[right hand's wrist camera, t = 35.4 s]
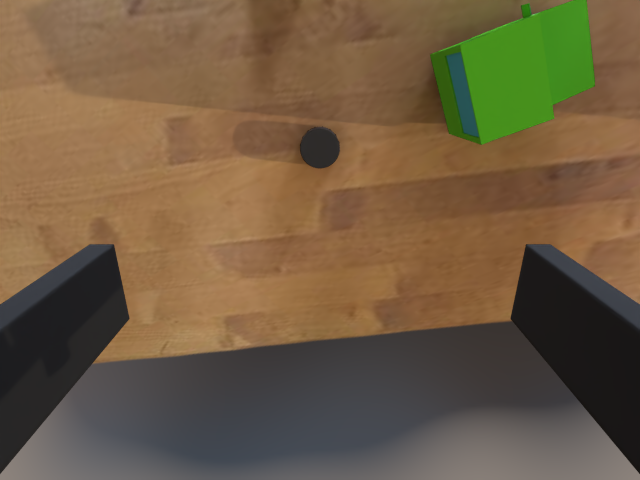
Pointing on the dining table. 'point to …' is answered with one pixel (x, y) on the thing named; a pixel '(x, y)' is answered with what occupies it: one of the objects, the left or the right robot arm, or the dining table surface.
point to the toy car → (515, 72)
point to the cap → (319, 147)
